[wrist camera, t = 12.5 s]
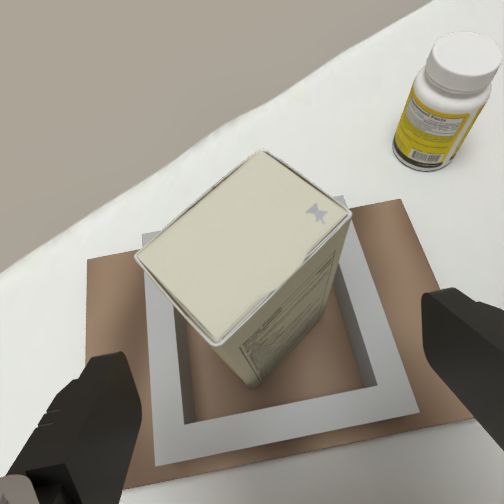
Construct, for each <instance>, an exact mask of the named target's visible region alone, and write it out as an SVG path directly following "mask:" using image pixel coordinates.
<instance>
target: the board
mask: <svg viewBox="0 0 504 504" xmlns="http://www.w3.org/2000/svg"><path fill="white" fill-rule="evenodd" d="M349 210H350V211H351V212H352V218H351V219H352V222H353V225H354V228H355V231H356V234H357V236H358V239H359V242H360V245H361V248H362V250H363V253H364V256H365V259H366V262H367V265H368V267H369V270H370V273H371V276H372V279H373V281H374V284H375V287H376V290H377V293H378V296H379V298H380V301H381V304H382V307H383V310H384V312H385V315H386V318H387V321H388V324H389V327H390V329H391V332H392V335H393V338H394V341H395V343H396V346H397V349H398V352H399V355H400V358H401V360H402V363H403V366H404V369H405V372H406V375H407V377H408V380H409V383H410V386H411V389H412V391H413V394H414V397H415V400H416V403H417V406H418V408H419V411H420V412H419V413H415V414H410V415H406V416H401V417H396V418H391V419H386V420H381V421H376V422H372V423H367V424H362V425H357V426H352V427H347V428H342V429H337V430H333V431H328V432H323V433H318V434H313V435H308V436H303V437H298V438H293V439H289V440H284V441H279V442H274V443H269V444H264V445H259V446H254V447H249V448H245V449H240V450H235V451H230V452H225V453H220V454H215V455H210V456H205V457H201V458H196V459H191V460H186V461H181V462H176V463H171V464H166V465H161V466H156V467H155V455H154V437H153V420H152V403H151V385H150V368H149V350H148V333H147V316H146V298H145V281H144V270H143V269H142V268H141V267H140V265H139V264H138V263H137V262H136V261H135V258H134V255H135V254H136V253H137V252H138V251H139V250H140V249H139V250H134V251H129V252H124V253H119V254H113V255H108V256H103V257H98V258H93V259H88V260H87V301H86V359H85V367H86V365H87V363H88V361H89V360H90V358H91V357H93V356H98V355H103V354H108V353H114V352H119V351H122V352H123V353H124V354H125V356H126V358H127V360H128V364H129V367H130V370H131V373H132V376H133V379H134V382H135V385H136V388H137V391H138V394H139V397H140V400H141V406H142V422H141V426H140V430H139V433H138V437H137V440H136V444H135V448H134V451H133V455H132V458H131V462H130V465H129V469H128V472H127V476H126V480H125V483H124V487H123V490H125V489H130V488H134V487H139V486H144V485H149V484H154V483H159V482H164V481H169V480H173V479H178V478H183V477H188V476H193V475H198V474H203V473H207V472H212V471H217V470H222V469H227V468H232V467H237V466H242V465H246V464H251V463H256V462H261V461H266V460H271V459H276V458H280V457H285V456H290V455H295V454H300V453H305V452H310V451H315V450H319V449H324V448H329V447H334V446H339V445H344V444H349V443H353V442H358V441H363V440H368V439H373V438H378V437H383V436H388V435H392V434H397V433H402V432H407V431H412V430H417V429H422V428H426V427H431V426H436V425H441V424H446V423H451V422H456V421H461V420H465V419H470V418H475V417H474V416H473V415H472V414H471V413H470V412H469V410H468V409H467V408H466V407H465V406H464V405H463V404H462V402H461V401H460V400H459V399H458V398H457V397H456V395H455V394H454V393H453V392H452V391H451V390H450V389H449V387H448V386H447V385H446V384H445V383H444V382H443V380H442V379H441V378H440V377H439V376H438V375H437V374H436V372H435V371H434V370H433V369H432V368H431V366H430V365H429V363H428V361H427V359H426V356H425V353H424V349H423V341H422V317H421V297H422V295H423V294H424V293H426V292H431V291H436V290H440V288H439V285H438V283H437V281H436V279H435V276H434V274H433V272H432V269H431V267H430V265H429V263H428V260H427V258H426V256H425V253H424V251H423V249H422V246H421V244H420V242H419V240H418V237H417V235H416V233H415V230H414V228H413V226H412V224H411V221H410V219H409V217H408V214H407V212H406V210H405V208H404V205H403V203H402V201H401V199H396V200H391V201H386V202H381V203H376V204H371V205H365V206H360V207H355V208H350V209H349ZM185 321H186V331H187V340H188V350H189V359H190V369H191V378H192V388H193V397H194V407H195V416H196V422H201V421H205V420H210V419H215V418H220V417H225V416H230V415H235V414H240V413H245V412H250V411H255V410H260V409H265V408H270V407H274V406H279V405H284V404H289V403H294V402H299V401H304V400H309V399H314V398H319V397H324V396H329V395H334V394H338V393H343V392H348V391H353V390H358V389H363V388H364V385H363V382H362V378H361V375H360V372H359V368H358V365H357V362H356V359H355V355H354V352H353V349H352V345H351V342H350V339H349V335H348V332H347V329H346V325H345V322H344V319H343V315H342V312H341V309H340V305H339V302H338V299H337V295H336V292H335V289H334V285H333V283H332V286H331V290H330V293H329V296H328V300H327V303H326V307H325V310H324V314H323V317H322V318H321V319H320V321H319V322H318V323H317V324H316V325H315V326H314V327H313V329H312V330H311V331H310V332H309V333H308V334H307V335H306V337H305V338H304V339H303V340H302V341H301V342H300V343H299V344H298V345H297V346H296V347H295V348H294V350H293V351H292V352H291V353H290V354H289V355H288V356H287V357H286V358H285V359H284V360H283V361H282V362H281V363H280V364H279V365H278V366H277V368H276V369H275V370H274V371H273V372H272V373H271V374H270V375H269V376H268V377H267V378H266V379H265V380H264V381H263V382H262V383H261V384H260V385H259V386H257V387H256V388H255V389H250V388H249V387H248V386H247V385H246V384H245V383H244V382H243V381H242V380H241V379H240V378H239V377H238V376H237V375H236V374H235V373H234V372H233V371H232V370H231V368H230V367H229V366H228V365H227V364H226V363H225V362H224V361H223V360H222V359H221V357H220V356H219V355H218V354H217V353H216V352H215V351H214V350H213V349H212V347H211V346H210V345H209V344H208V343H207V342H206V341H205V340H204V338H203V337H202V336H201V335H200V334H199V333H198V332H197V331H196V330H195V329H194V328H193V327H192V325H191V324H190V323H189V322H188V321H187V320H186V319H185Z"/></svg>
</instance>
